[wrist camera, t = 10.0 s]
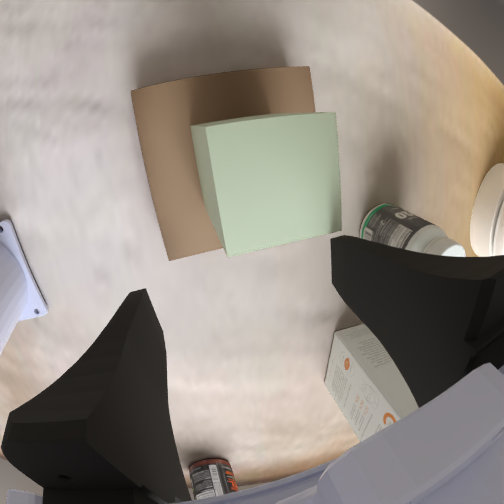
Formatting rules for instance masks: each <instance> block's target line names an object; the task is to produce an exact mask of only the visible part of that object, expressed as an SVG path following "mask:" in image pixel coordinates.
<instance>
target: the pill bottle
mask: <svg viewBox="0 0 504 504" xmlns="http://www.w3.org/2000/svg"><path fill="white" fill-rule="evenodd" d="M360 238H362V239H366V240H370V241H374V242H377V243H381V244H385V245H389V246H393V247H397V248H401V249H406V250H410V251H415V252H420V253H427V254H434V255H442V256H455V257H466V256H465V250H464V248H463V247H462V246H461V245H460V244H459V243H457V242H456V241H454V240H452V239H450V238H448V237H447V235H446V233H445V232H444V231H443V230H442V229H441V228H440V227H438V226H436V225H434V224H432V223H430V222H428V221H426V220H424V219H422V218H420V217H418V216H416V215H414V214H412V213H410V212H407V211H405V210H403V209H401V208H399V207H397V206H395V205H392V204H387V203H384V204H380V205H378V206H376V207H374V208H373V209H372V210H371V211H370V212H369V213H368V214H367V215H366V217H365V218H364V220H363V222H362V225H361V229H360Z"/></svg>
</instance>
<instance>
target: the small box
mask: <svg viewBox="0 0 504 504" xmlns="http://www.w3.org/2000/svg"><path fill="white" fill-rule="evenodd" d="M325 386H326V387H327V389H328V390H329V392H330V394H331V395H332V397H333V398H334V400H335V401H336V403H337V405H338V406H339V408H340V409H341V411H342V413H343V414H344V416H345V417H346V419H347V421H348V422H349V424H350V426H351V427H352V429H353V430H354V432H355V434H356V435H357V437H358V439H359V440H360V442H362V441H364V440H365V439H367V438H369V437H370V436H372V435H373V434H375V433H377V432H378V431H380V430H382V429H384V428H386V427H388V426H390V425H391V424H393V423H395V422H397V421H399V420H400V419H402V418H404V417H405V416H407V415H409V414H411V413H412V412H414V411H415V410H417V409H419V407H418V405H417V403H416V401H415V399H414V396H413V395H412V393H411V391H410V389H409V387H408V385H407V383H406V382H405V380H404V378H403V376H402V375H401V373H400V371H399V370H398V368H397V366H396V365H395V363H394V361H393V360H392V358H391V357H390V355H389V354H388V352H387V351H386V350H385V348H384V347H383V345H382V344H381V342H380V341H379V340H378V339H377V337H376V336H375V335H374V334H373V333H372V332H371V331H370V329H369V328H368V327H367V326H366V325H365V324H361V325H358V326H354V327H350V328H347V329H343V330H340V331H336V332H335V333H334V339H333V344H332V349H331V354H330V359H329V364H328V369H327V374H326V379H325Z"/></svg>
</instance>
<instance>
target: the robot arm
mask: <svg viewBox="0 0 504 504" xmlns="http://www.w3.org/2000/svg"><path fill="white" fill-rule="evenodd" d="M0 226H2V227H3V231H2V230H1V228H0V355H1V353H2V351H3V349H4V347H5V345H6V343H7V341H8V339H9V337H10V335H11V333H12V331H13V329H14V327H15V326H16V324H17V322H18V321H22V320H27V319H31V318H35V317H40V316H44V315H46V314H47V312H48V307H47V305H46V303H45V301H44V299H43V297H42V295H41V293H40V291H39V289H38V287H37V285H36V282H35V280H34V278H33V276H32V274H31V271H30V269H29V267H28V264H27V262H26V259H25V257H24V255H23V252H22V249H21V247H20V244H19V242H18V239H17V236H16V233H15V231H14V228H13V225H12V223H11V221H10V220H8V219H5V220H3V221H0ZM331 264H332V284H333V285H334V287H335V288H336V290H337V292H338V293H339V295H340V296H341V298H342V299H343V300H344V302H345V303H346V304H347V305H348V306H349V307H350V308H351V310H352V311H353V312H354V313H355V314H356V315H357V316H358V317H359V318H360V320H361V321H362V322H363V323H364V324H365V325H366V326H367V327H368V328H369V329H370V331H371V332H372V333H373V334H374V335H375V336H376V337H377V339H378V340H379V341H380V342H381V344H382V345H383V347H384V348H385V350H386V351H387V352H388V354H389V355H390V357H391V358H392V360H393V361H394V363H395V365H396V366H397V368H398V370H399V371H400V373H401V375H402V376H403V378H404V380H405V382H406V383H407V385H408V387H409V389H410V391H411V393H412V395H413V396H414V399H415V401H416V403H417V405H418V407H419V409H417V410H415V411H414V412H412V413H411V414H409V415H407V416H405V417H404V418H402V419H400V420H399V421H397V422H395V423H393V424H391V425H390V426H388V427H386V428H384V429H382V430H380V431H378V432H377V433H375V434H373V435H372V436H370V437H369V438H367V439H365V440H364V441H362V442H360V443H358V444H357V445H355V446H353V447H351V448H350V449H349V450H347V451H346V452H345V453H344V454H342V455H341V456H340V457H338V458H336V459H334V460H331V461H329V462H327V463H324V464H322V465H319V466H317V467H314V468H312V469H309V470H306V471H304V472H301V473H298V474H295V475H292V476H289V477H286V478H283V479H280V480H277V481H274V482H271V483H267V484H264V485H260V486H257V487H253V488H249V489H245V490H242V491H237V492H233V493H229V494H224V495H220V496H215V497H210V498H204V499H198V500H191V497H190V494H189V491H188V488H187V485H186V482H185V478H184V475H183V471H182V468H181V464H180V460H179V457H178V453H177V448H176V444H175V440H174V435H173V430H172V425H171V420H170V415H169V406H168V389H167V359H166V348H165V341H164V335H163V330H162V328H161V326H160V323H159V321H158V318H157V316H156V313H155V311H154V308H153V306H152V303H151V301H150V298H149V296H148V293H147V290H146V288H145V289H141V290H137V291H133V292H130V293H129V294H128V296H127V297H126V298H125V300H124V301H123V303H122V304H121V306H120V307H119V309H118V310H117V312H116V313H115V314H114V316H113V317H112V319H111V320H110V322H109V323H108V324H107V326H106V327H105V328H104V330H103V331H102V332H101V334H100V335H99V336H98V338H97V339H96V340H95V342H94V343H93V344H92V345H91V346H90V348H89V349H88V350H87V351H86V352H85V353H84V354H83V355H82V356H81V358H80V359H79V360H78V361H77V362H76V363H75V364H74V365H73V366H72V367H70V368H69V369H68V370H67V371H66V372H65V373H64V374H63V375H62V376H61V377H60V378H59V379H57V380H56V381H55V382H54V383H53V384H51V385H50V386H49V387H48V388H46V389H45V390H44V391H42V392H41V393H40V394H38V395H37V396H35V397H34V398H33V399H31V400H29V401H28V402H26V403H25V404H23V405H21V406H20V407H18V408H17V409H15V410H13V411H11V412H10V413H9V417H8V420H7V424H6V428H5V432H4V436H3V441H2V445H1V449H2V452H3V454H4V456H5V457H6V458H7V460H8V461H9V462H10V463H11V464H12V465H13V466H14V467H16V468H17V469H18V470H19V471H21V472H22V473H23V474H25V475H26V476H27V477H29V478H30V479H32V480H33V481H34V482H36V483H37V484H39V485H40V486H42V487H43V488H44V490H43V496H41V495H38V494H36V493H31V492H25V491H19V490H13V489H9V490H8V492H7V502H6V504H504V255H497V256H488V257H455V256H442V255H434V254H427V253H420V252H415V251H410V250H406V249H401V248H397V247H393V246H389V245H385V244H381V243H377V242H374V241H370V240H366V239H362V238H358V237H353V236H346V235H343V236H339V237H336V238H332V239H331ZM36 309H38V310H39V312H38V311H37V310H36Z"/></svg>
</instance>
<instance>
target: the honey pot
mask: <svg viewBox="0 0 504 504" xmlns="http://www.w3.org/2000/svg"><path fill="white" fill-rule="evenodd" d="M470 240H471V245H472V248H473V250H474V252H475V254H477V255H478V256H480V257H488V256H497V255H504V163H498V164H496V165H495V166H493V167H492V168H491V169H490V170H489V172H488V173H487V174H486V175H485V177H484V179H483V181H482V183H481V185H480V188H479V190H478V193H477V196H476V198H475V203H474V207H473V211H472V217H471V224H470Z"/></svg>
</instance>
